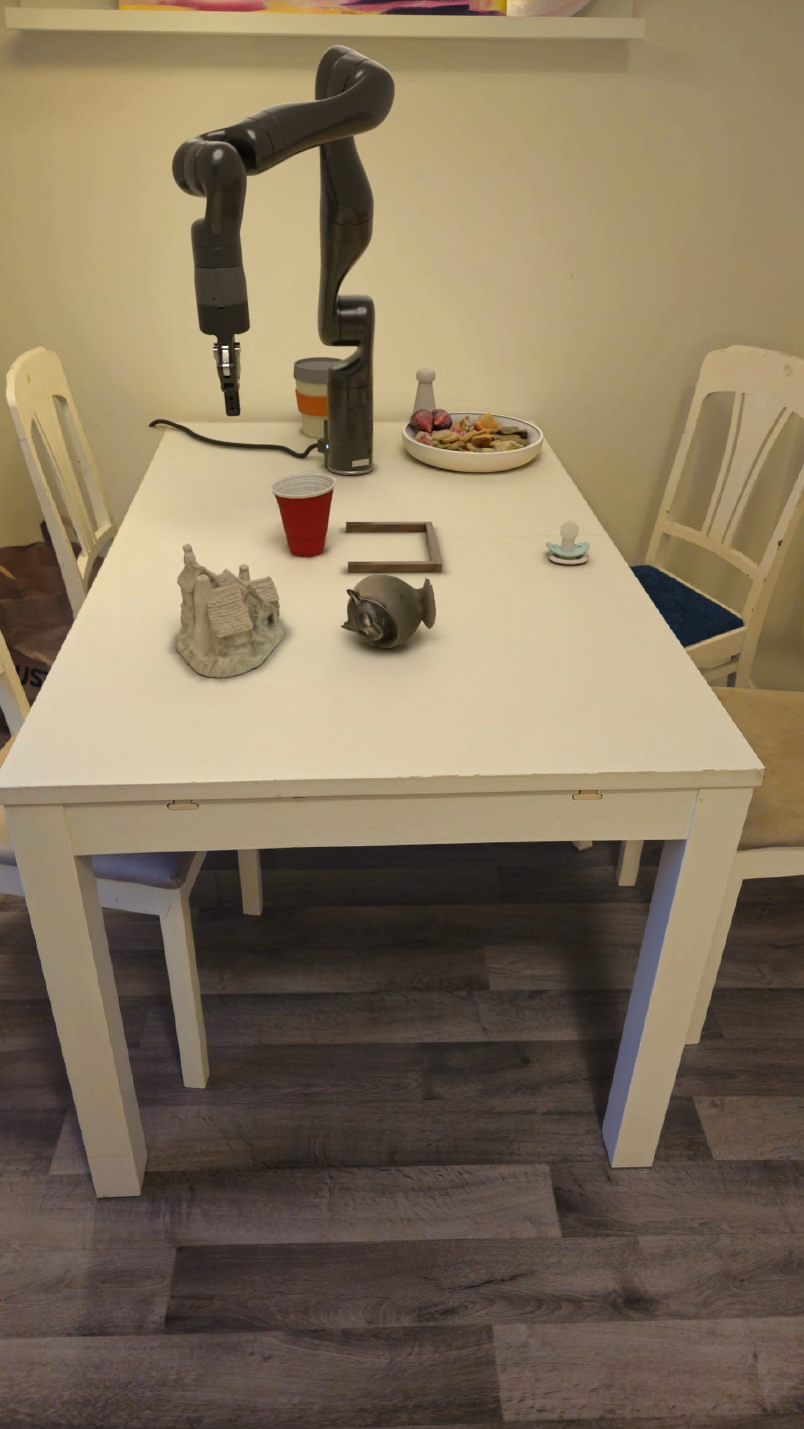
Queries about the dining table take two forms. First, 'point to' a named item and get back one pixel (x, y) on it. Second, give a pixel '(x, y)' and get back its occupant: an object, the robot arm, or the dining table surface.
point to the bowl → (471, 440)
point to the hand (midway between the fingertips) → (233, 414)
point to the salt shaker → (425, 390)
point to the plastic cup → (305, 510)
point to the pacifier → (568, 546)
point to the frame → (397, 565)
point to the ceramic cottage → (226, 619)
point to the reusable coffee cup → (312, 393)
